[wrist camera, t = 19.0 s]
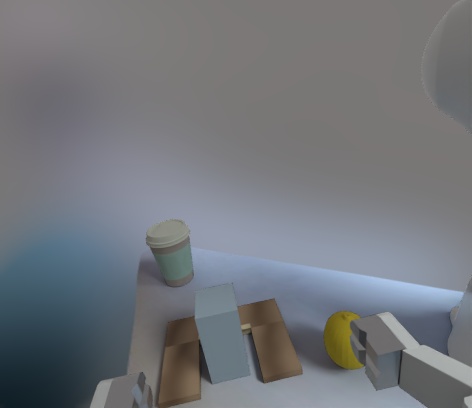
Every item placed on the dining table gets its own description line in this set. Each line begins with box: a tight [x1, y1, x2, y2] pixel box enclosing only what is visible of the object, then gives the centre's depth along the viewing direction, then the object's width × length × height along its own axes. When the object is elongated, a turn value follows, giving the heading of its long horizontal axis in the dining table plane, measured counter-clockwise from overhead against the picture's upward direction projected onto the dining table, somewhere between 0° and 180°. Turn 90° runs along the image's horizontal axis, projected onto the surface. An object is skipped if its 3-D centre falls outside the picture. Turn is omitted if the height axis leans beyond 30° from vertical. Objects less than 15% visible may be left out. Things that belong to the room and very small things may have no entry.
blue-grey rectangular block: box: [195, 283, 250, 384], centre depth 35 cm, size 5×5×11 cm
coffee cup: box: [146, 219, 194, 287], centre depth 55 cm, size 9×9×12 cm
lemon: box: [324, 311, 364, 370], centre depth 33 cm, size 6×6×8 cm
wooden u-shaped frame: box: [158, 299, 303, 408], centre depth 39 cm, size 18×13×1 cm
